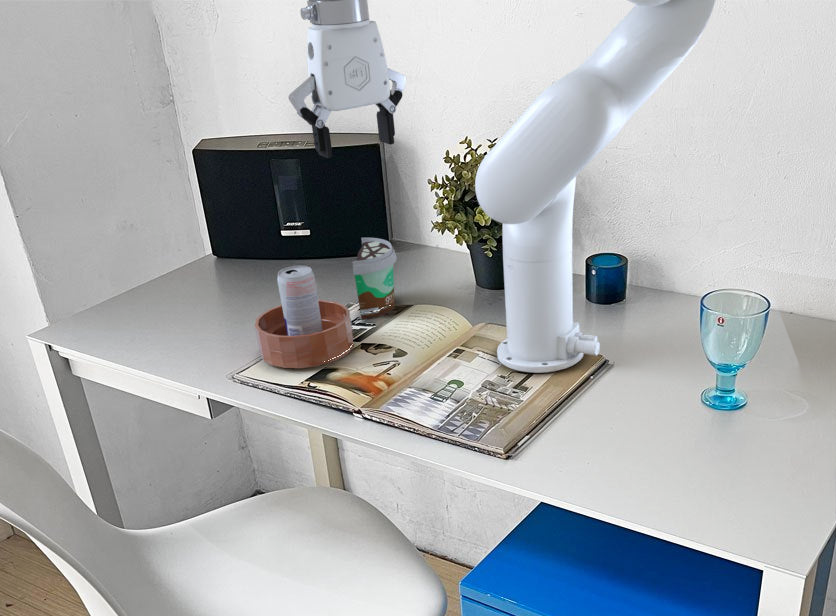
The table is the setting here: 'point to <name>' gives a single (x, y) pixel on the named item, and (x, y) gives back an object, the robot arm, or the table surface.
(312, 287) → the energy drink
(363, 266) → the food container
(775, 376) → the table surface
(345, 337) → the bowl
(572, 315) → the robot arm
